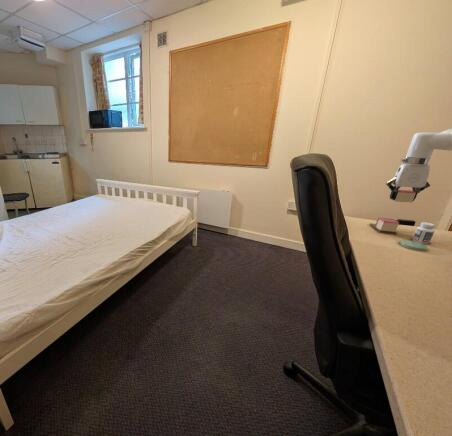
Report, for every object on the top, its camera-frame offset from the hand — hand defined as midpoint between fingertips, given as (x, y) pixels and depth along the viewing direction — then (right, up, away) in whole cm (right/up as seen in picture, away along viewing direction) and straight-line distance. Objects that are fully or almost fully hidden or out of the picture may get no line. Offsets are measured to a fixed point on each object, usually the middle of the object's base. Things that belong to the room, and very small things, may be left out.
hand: (401, 199), depth 105 cm
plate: (-4, -22, -8) cm, 23 cm away
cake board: (+1, -15, +10) cm, 18 cm away
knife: (+4, -14, +8) cm, 17 cm away
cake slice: (0, -1, 0) cm, 1 cm away
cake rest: (0, -15, +7) cm, 16 cm away
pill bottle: (+5, -20, -3) cm, 21 cm away
